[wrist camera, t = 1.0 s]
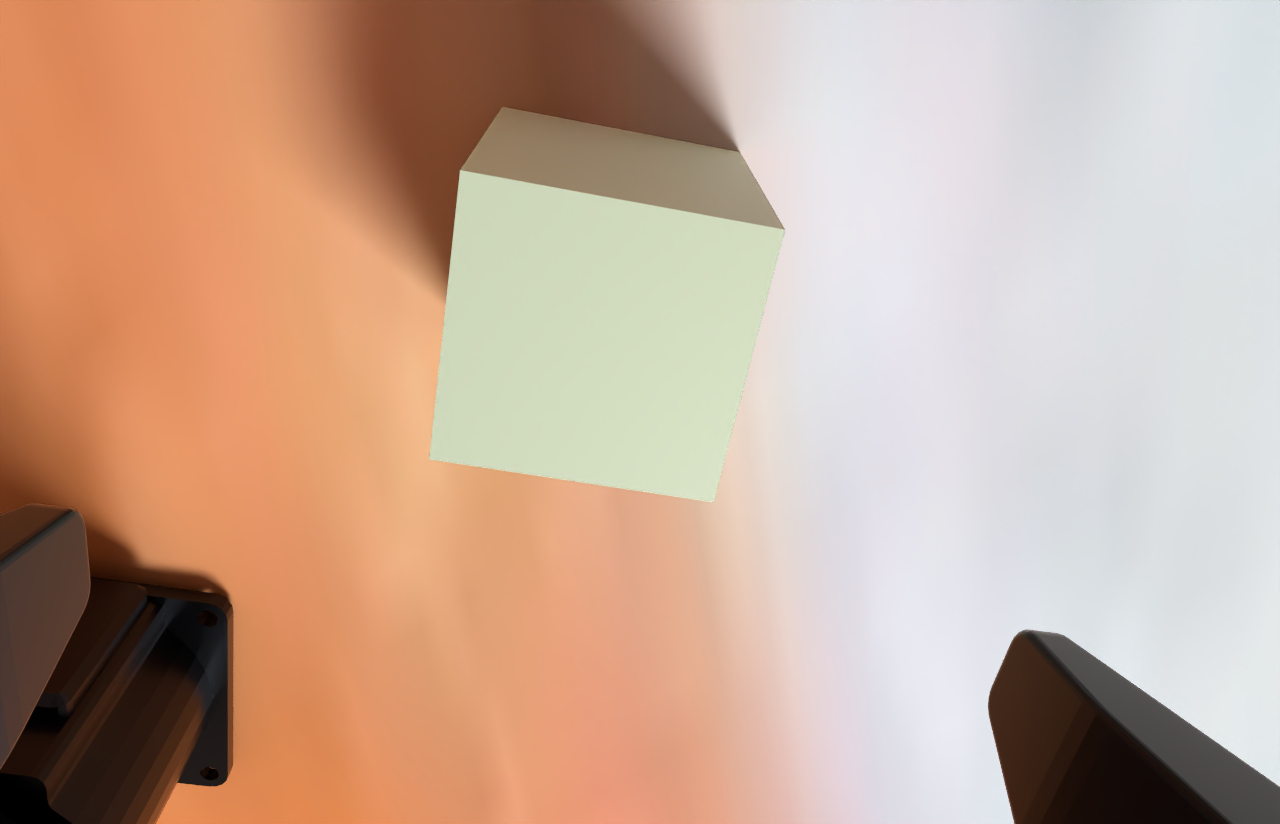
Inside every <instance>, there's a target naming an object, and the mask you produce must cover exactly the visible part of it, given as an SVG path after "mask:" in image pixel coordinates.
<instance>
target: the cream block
mask: <svg viewBox="0 0 1280 824" xmlns="http://www.w3.org/2000/svg"><path fill="white" fill-rule="evenodd" d="M784 232H785V229H784V227H783V225H782V224H781V222H780V220H779V218H778V217H777V215H776V213H775V212H774V210H773V208H772V206H771V205H770V203H769V201H768V200H767V198H766V196H765V194H764V193H763V191H762V189H761V187H760V186H759V184H758V182H757V181H756V179H755V177H754V175H753V174H752V172H751V170H750V169H749V167H748V165H747V163H746V162H745V160H744V158H743V156H742V155H741V153H740V152H738V151H732V150H727V149H722V148H717V147H711V146H706V145H701V144H696V143H691V142H685V141H680V140H675V139H670V138H664V137H659V136H654V135H649V134H643V133H638V132H633V131H628V130H622V129H617V128H612V127H607V126H601V125H596V124H591V123H586V122H581V121H575V120H570V119H565V118H560V117H554V116H549V115H544V114H539V113H533V112H528V111H523V110H518V109H512V108H507V107H502V108H501V110H500V111H499V113H498V114H497V116H496V117H495V119H494V120H493V122H492V123H491V125H490V126H489V127H488V129H487V130H486V132H485V133H484V135H483V136H482V138H481V139H480V141H479V142H478V144H477V145H476V147H475V148H474V150H473V151H472V153H471V154H470V156H469V157H468V159H467V160H466V162H465V163H464V165H463V166H462V168H461V169H460V175H459V184H458V194H457V203H456V213H455V222H454V232H453V241H452V250H451V260H450V269H449V279H448V288H447V298H446V307H445V316H444V326H443V335H442V345H441V354H440V364H439V373H438V383H437V392H436V401H435V411H434V420H433V430H432V439H431V449H430V458H429V459H430V460H437V461H444V462H450V463H457V464H463V465H470V466H477V467H483V468H490V469H496V470H503V471H510V472H516V473H523V474H529V475H536V476H543V477H549V478H556V479H562V480H569V481H576V482H582V483H589V484H595V485H602V486H609V487H615V488H622V489H629V490H635V491H642V492H648V493H655V494H662V495H668V496H675V497H681V498H688V499H695V500H701V501H708V502H714V499H715V495H716V491H717V487H718V483H719V480H720V476H721V472H722V468H723V464H724V460H725V457H726V453H727V449H728V445H729V441H730V438H731V434H732V430H733V426H734V422H735V419H736V415H737V411H738V407H739V403H740V399H741V396H742V392H743V388H744V384H745V380H746V377H747V373H748V369H749V365H750V361H751V358H752V354H753V350H754V346H755V342H756V339H757V335H758V331H759V327H760V323H761V319H762V316H763V312H764V308H765V304H766V300H767V297H768V293H769V289H770V285H771V281H772V278H773V274H774V270H775V266H776V262H777V258H778V255H779V251H780V247H781V243H782V239H783V236H784Z"/></svg>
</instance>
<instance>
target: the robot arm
mask: <svg viewBox="0 0 1280 824" xmlns="http://www.w3.org/2000/svg"><path fill="white" fill-rule="evenodd" d="M204 611H210V612H213V613H214V614H215V615H216V616H217V617H213V616H210V615H208V614H207V613H205V612H204ZM988 710H989V718H990V722H991V726H992V730H993V735H994V739H995V743H996V747H997V752H998V756H999V760H1000V764H1001V769H1002V773H1003V777H1004V781H1005V785H1006V790H1007V794H1008V798H1009V802H1010V807H1011V811H1012V815H1013V819H1014V824H1280V787H1279V786H1278V785H1276V784H1275V783H1274V782H1272V781H1271V780H1269V779H1268V778H1266V777H1265V776H1264V775H1262V774H1261V773H1259V772H1258V771H1256V770H1255V769H1254V768H1252V767H1251V766H1249V765H1248V764H1246V763H1245V762H1244V761H1242V760H1241V759H1239V758H1238V757H1237V756H1235V755H1234V754H1232V753H1231V752H1229V751H1228V750H1227V749H1225V748H1224V747H1222V746H1221V745H1219V744H1218V743H1217V742H1215V741H1214V740H1212V739H1211V738H1209V737H1208V736H1207V735H1205V734H1204V733H1202V732H1201V731H1200V730H1198V729H1197V728H1195V727H1194V726H1192V725H1191V724H1190V723H1188V722H1187V721H1185V720H1184V719H1182V718H1181V717H1180V716H1178V715H1177V714H1175V713H1174V712H1172V711H1171V710H1170V709H1168V708H1167V707H1165V706H1164V705H1162V704H1161V703H1160V702H1158V701H1157V700H1155V699H1154V698H1153V697H1151V696H1150V695H1148V694H1147V693H1145V692H1144V691H1143V690H1141V689H1140V688H1138V687H1137V686H1135V685H1134V684H1133V683H1131V682H1130V681H1128V680H1127V679H1125V678H1124V677H1123V676H1121V675H1120V674H1118V673H1117V672H1116V671H1114V670H1113V669H1111V668H1110V667H1108V666H1107V665H1106V664H1104V663H1103V662H1101V661H1100V660H1098V659H1097V658H1096V657H1094V656H1093V655H1091V654H1090V653H1088V652H1087V651H1086V650H1084V649H1083V648H1081V647H1080V646H1078V645H1077V644H1076V643H1074V642H1073V641H1071V640H1070V639H1069V638H1067V637H1065V636H1064V635H1061V634H1058V633H1051V632H1043V631H1035V630H1023V631H1021V632H1019V633H1018V634H1017V635H1016V636H1015V637H1014V638H1013V640H1012V642H1011V644H1010V647H1009V649H1008V651H1007V653H1006V656H1005V658H1004V660H1003V663H1002V665H1001V667H1000V669H999V672H998V674H997V676H996V679H995V681H994V683H993V685H992V688H991V691H990V695H989V702H988ZM232 766H233V608H232V605H231V604H230V602H229V601H228V600H227V599H225V598H224V597H222V596H221V595H217V594H214V593H207V592H199V591H192V590H184V589H177V588H169V587H162V586H154V585H147V584H139V583H132V582H124V581H116V580H109V579H101V578H94V577H90V569H89V559H88V548H87V537H86V527H85V522H84V518H83V516H82V514H81V513H80V512H79V511H77V510H76V509H74V508H69V507H61V506H54V505H46V504H38V503H32V504H27V505H24V506H21V507H18V508H16V509H13V510H10V511H8V512H5V513H2V514H0V824H156V822H157V820H158V818H159V817H160V815H161V813H162V811H163V809H164V807H165V805H166V803H167V801H168V799H169V797H170V795H171V793H172V791H173V789H174V788H175V786H176V784H177V783H185V784H194V785H202V786H218V785H221V784H223V783H224V782H225V781H226V780H227V778H228V776H229V774H230V772H231V769H232ZM210 767H211V768H210ZM213 768H214V769H213Z"/></svg>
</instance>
